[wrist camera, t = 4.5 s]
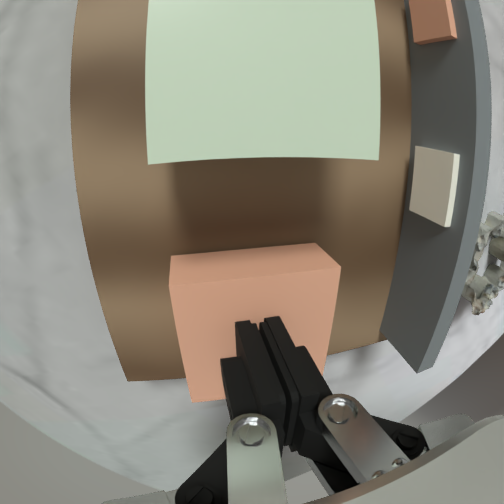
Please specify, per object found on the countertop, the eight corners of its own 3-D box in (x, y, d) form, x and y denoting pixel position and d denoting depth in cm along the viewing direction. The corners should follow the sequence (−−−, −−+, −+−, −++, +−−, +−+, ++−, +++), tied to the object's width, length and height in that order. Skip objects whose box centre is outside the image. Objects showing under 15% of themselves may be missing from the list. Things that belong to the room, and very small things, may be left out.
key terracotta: (170, 255, 11) (168, 285, 9) (315, 242, 13) (341, 267, 10) (188, 366, 14) (192, 402, 12) (304, 349, 15) (321, 380, 13)
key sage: (159, -14, 6) (154, -50, 4) (335, -2, 7) (370, -24, 5) (157, 156, 8) (148, 164, 6) (338, 151, 10) (378, 160, 7)
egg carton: (441, 296, 22) (472, 321, 18) (455, 213, 18) (495, 232, 15) (502, 268, 23) (528, 285, 19) (515, 201, 20) (545, 214, 16)
